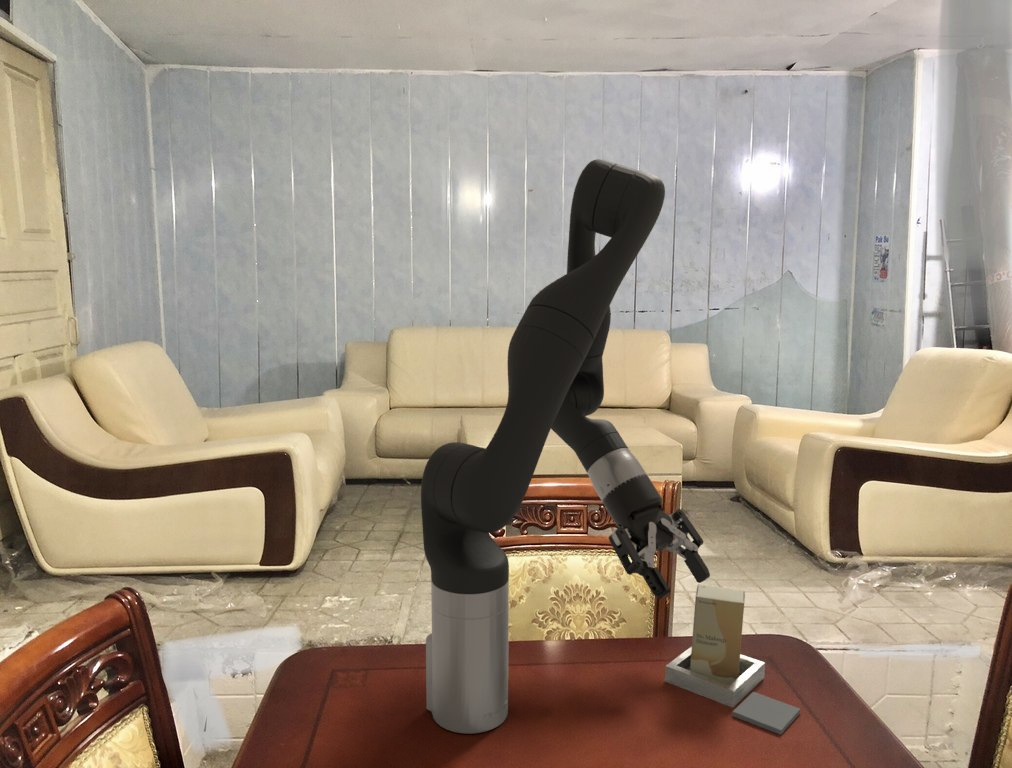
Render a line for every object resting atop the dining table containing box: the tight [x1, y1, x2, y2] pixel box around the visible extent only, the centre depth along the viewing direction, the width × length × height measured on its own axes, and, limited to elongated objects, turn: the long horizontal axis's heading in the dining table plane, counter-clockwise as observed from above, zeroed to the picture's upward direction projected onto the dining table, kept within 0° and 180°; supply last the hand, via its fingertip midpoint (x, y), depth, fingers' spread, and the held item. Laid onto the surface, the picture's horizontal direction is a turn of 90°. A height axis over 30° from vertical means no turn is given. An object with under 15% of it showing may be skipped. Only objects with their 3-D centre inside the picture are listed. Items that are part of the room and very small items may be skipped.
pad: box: [732, 691, 801, 736], centre depth 98 cm, size 6×6×1 cm
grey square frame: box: [664, 645, 766, 709], centre depth 106 cm, size 10×10×2 cm
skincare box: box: [690, 583, 746, 685], centre depth 105 cm, size 6×4×12 cm
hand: (685, 587), depth 109 cm, fingers open, 8 cm apart
